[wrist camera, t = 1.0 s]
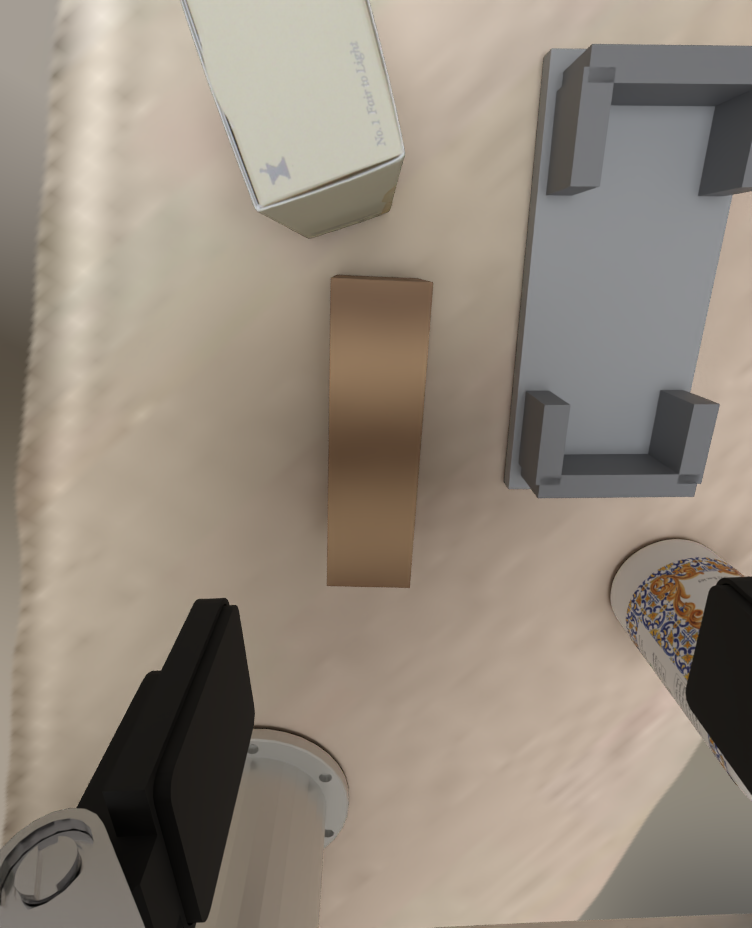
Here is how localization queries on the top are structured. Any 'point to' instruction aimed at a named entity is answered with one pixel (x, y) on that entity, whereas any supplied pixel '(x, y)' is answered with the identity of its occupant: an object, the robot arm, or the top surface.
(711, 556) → the bath foam
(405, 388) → the slat
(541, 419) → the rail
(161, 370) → the top surface
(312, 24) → the skincare box
